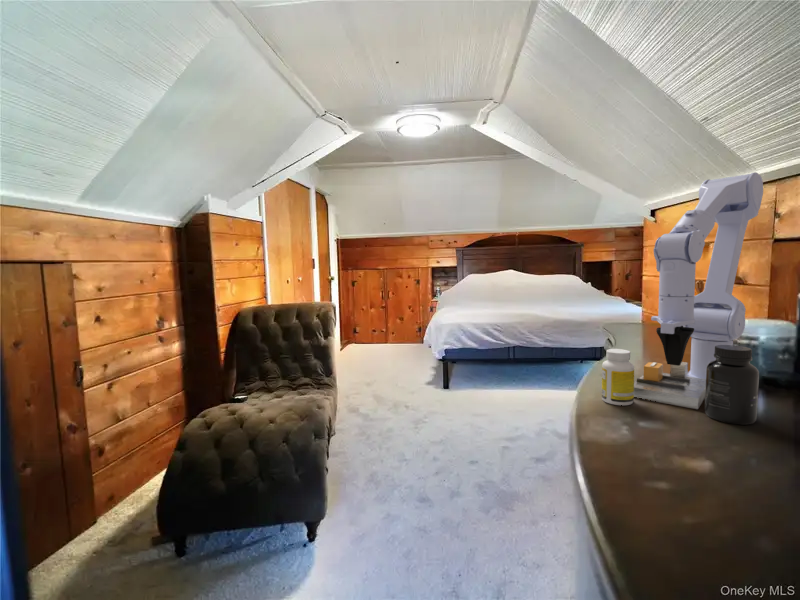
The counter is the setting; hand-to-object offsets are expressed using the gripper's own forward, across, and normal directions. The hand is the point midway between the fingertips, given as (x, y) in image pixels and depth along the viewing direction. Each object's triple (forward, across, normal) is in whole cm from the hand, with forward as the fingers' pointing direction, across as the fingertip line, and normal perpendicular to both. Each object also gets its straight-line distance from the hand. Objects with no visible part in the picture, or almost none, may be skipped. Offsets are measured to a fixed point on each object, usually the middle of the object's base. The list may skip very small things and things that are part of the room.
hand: (674, 364), depth 80 cm
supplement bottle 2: (+6, +8, +10) cm, 14 cm away
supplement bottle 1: (+6, +11, -7) cm, 14 cm away
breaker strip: (+6, 0, 0) cm, 6 cm away
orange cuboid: (+4, 0, -4) cm, 5 cm away
